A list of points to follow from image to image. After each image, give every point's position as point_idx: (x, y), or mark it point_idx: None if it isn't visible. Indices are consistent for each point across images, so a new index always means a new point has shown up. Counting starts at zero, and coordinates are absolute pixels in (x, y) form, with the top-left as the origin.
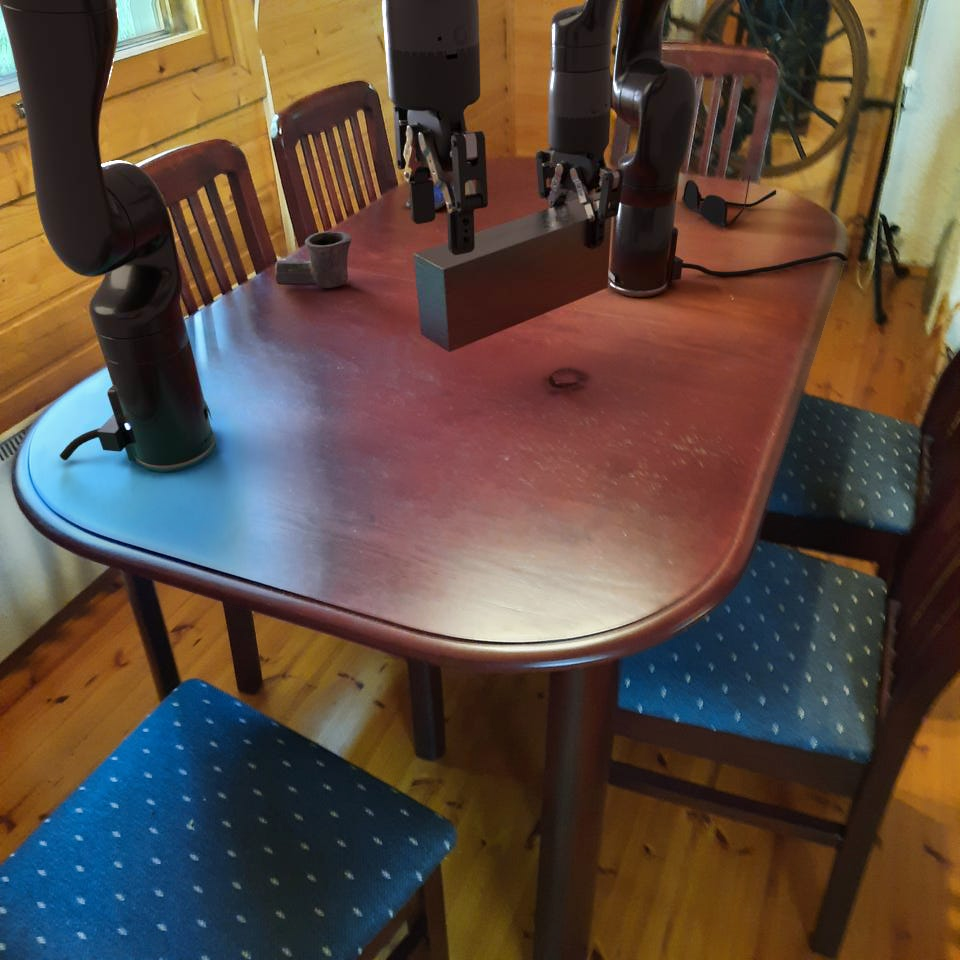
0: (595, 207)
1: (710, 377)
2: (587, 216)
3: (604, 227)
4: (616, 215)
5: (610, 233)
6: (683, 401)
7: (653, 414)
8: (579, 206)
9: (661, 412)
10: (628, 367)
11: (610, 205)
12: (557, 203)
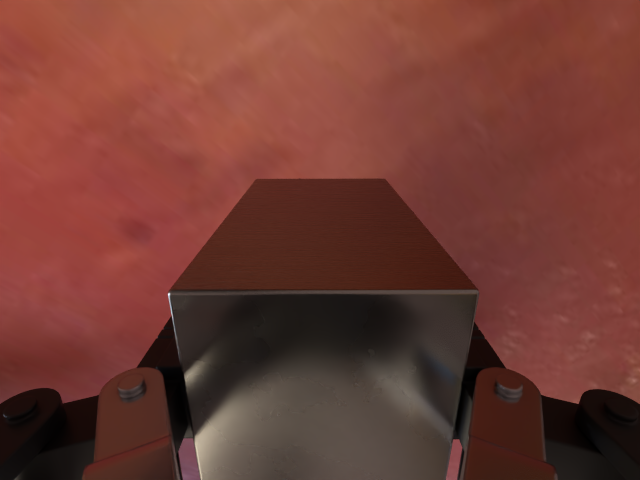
0: (367, 328)
1: (603, 85)
2: (430, 434)
3: (496, 356)
4: (619, 397)
5: (432, 236)
6: (601, 195)
7: (580, 261)
8: (286, 377)
9: (588, 248)
10: (456, 182)
11: (620, 466)
12: (180, 441)
